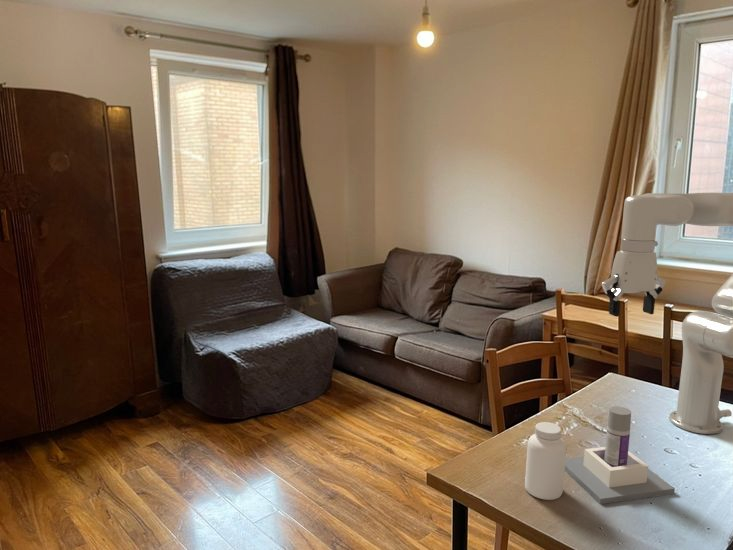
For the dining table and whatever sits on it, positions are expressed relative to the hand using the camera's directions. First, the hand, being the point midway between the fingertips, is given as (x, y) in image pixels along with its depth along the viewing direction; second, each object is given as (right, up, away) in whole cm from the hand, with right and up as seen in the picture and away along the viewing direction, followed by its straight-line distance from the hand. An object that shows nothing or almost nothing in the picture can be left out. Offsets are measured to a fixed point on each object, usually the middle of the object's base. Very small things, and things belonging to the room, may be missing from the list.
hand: (631, 314), depth 137 cm
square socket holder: (-10, -36, -13) cm, 40 cm away
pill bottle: (-28, -38, -17) cm, 50 cm away
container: (-10, -35, -13) cm, 39 cm away
